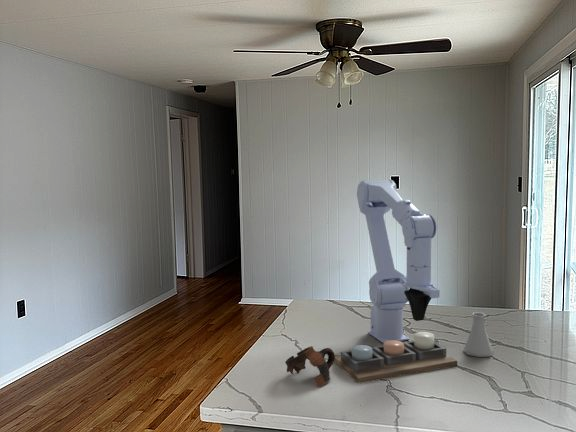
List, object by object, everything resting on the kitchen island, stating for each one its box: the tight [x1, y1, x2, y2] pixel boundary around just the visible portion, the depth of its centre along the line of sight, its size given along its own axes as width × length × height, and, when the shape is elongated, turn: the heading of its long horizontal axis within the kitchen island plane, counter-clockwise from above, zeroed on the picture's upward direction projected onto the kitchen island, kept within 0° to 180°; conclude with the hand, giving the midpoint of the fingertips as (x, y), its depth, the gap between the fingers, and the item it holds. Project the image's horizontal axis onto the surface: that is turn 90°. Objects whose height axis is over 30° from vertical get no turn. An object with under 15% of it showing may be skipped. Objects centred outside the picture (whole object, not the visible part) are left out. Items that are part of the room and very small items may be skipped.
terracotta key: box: [383, 340, 404, 356], centre depth 126 cm, size 5×5×3 cm
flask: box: [462, 312, 494, 358], centre depth 131 cm, size 7×7×10 cm
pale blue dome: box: [351, 344, 372, 361], centre depth 123 cm, size 5×5×3 cm
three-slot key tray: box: [334, 340, 458, 384], centre depth 126 cm, size 14×26×3 cm, turn 109°
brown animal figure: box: [284, 346, 335, 388], centre depth 119 cm, size 12×10×8 cm
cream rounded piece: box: [413, 331, 435, 351], centre depth 128 cm, size 5×5×3 cm
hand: (418, 319), depth 127 cm, fingers closed
